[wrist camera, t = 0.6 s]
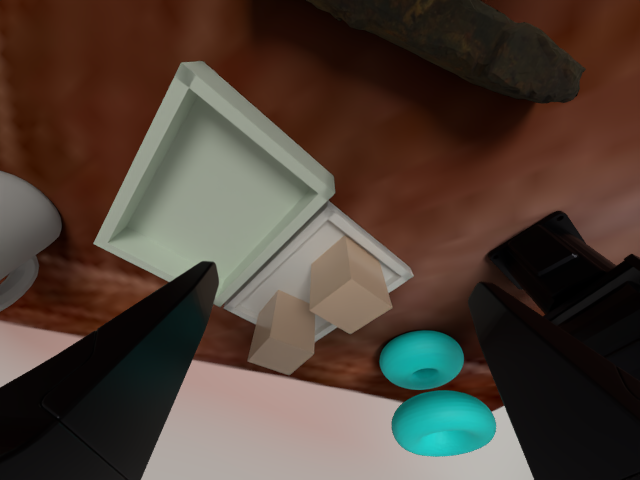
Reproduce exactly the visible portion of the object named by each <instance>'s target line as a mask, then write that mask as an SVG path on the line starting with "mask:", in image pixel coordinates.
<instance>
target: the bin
mask: <svg viewBox="0 0 640 480" xmlns="http://www.w3.org/2000/svg"><path fill="white" fill-rule="evenodd" d="M334 194H335V185H334V176H333V175H332V174H331V173H330V172H328V171H327V170H326V169H325V168H324V167H323V166H322V165H320V164H319V163H318V162H317V161H316V160H315V159H314V158H312V157H311V156H310V155H309V154H308V153H307V152H306V151H304V150H303V149H302V148H301V147H300V146H299V145H298V144H296V143H295V142H294V141H293V140H292V139H291V138H290V137H289V136H287V135H286V134H285V133H284V132H283V131H282V130H281V129H279V128H278V127H277V126H276V125H275V124H274V123H273V122H271V121H270V120H269V119H268V118H267V117H266V116H265V115H263V114H262V113H261V112H260V111H259V110H258V109H257V108H255V107H254V106H253V105H252V104H251V103H250V102H249V101H247V100H246V99H245V98H244V97H243V96H242V95H241V94H240V93H238V92H237V91H236V90H235V89H234V88H233V87H232V86H230V85H229V84H228V83H227V82H226V81H225V80H224V79H222V78H221V77H220V76H219V75H218V74H217V73H216V72H214V71H213V70H212V69H211V68H210V67H209V66H208V65H206V64H205V63H204V62H203V61H198V62H183V63H181V64H180V66H179V69H178V71H177V73H176V75H175V77H174V79H173V81H172V83H171V85H170V87H169V89H168V91H167V93H166V95H165V97H164V99H163V101H162V104H161V106H160V108H159V110H158V112H157V114H156V116H155V118H154V120H153V122H152V124H151V126H150V128H149V130H148V132H147V134H146V136H145V139H144V141H143V143H142V145H141V147H140V149H139V151H138V153H137V155H136V157H135V159H134V161H133V163H132V165H131V167H130V169H129V172H128V174H127V176H126V178H125V180H124V182H123V184H122V186H121V188H120V190H119V192H118V194H117V196H116V198H115V200H114V202H113V204H112V207H111V209H110V211H109V213H108V215H107V217H106V219H105V221H104V223H103V225H102V227H101V229H100V231H99V233H98V235H97V237H96V240H95V242H94V244H95V245H97V246H99V247H101V248H103V249H105V250H107V251H109V252H111V253H113V254H115V255H117V256H119V257H121V258H123V259H125V260H127V261H129V262H131V263H133V264H135V265H137V266H139V267H141V268H143V269H145V270H147V271H149V272H151V273H153V274H155V275H157V276H159V277H161V278H163V279H165V280H167V281H169V282H170V281H172V280H173V279H175V278H176V277H178V276H180V275H181V274H183V273H184V272H186V271H187V270H189V269H190V268H192V267H193V266H195V265H196V264H198V263H199V262H201V261H213V262H215V263H216V266H217V272H218V277H219V286H218V290H217V293H216V296H215V300H214V303H213V304H215V305H217V306H219V307H221V306H222V305H223V304H224V303H225V302H226V301H227V300H228V299H229V298H230V297H231V296H232V295H233V294H234V293H235V292H236V291H237V290H238V289H239V288H240V287H241V286H242V285H243V284H244V283H245V282H246V281H247V280H248V279H249V278H250V277H251V276H252V275H253V274H254V273H255V272H256V271H257V270H258V269H259V268H260V267H261V266H262V265H263V264H264V263H265V262H266V261H267V260H268V259H269V258H270V257H271V256H272V255H273V254H274V253H275V252H276V251H277V250H278V249H279V248H280V247H281V246H282V245H283V244H284V243H285V242H286V241H287V240H288V239H289V238H290V237H291V236H292V235H293V234H294V233H295V232H296V231H297V230H298V229H299V228H300V227H301V226H303V225H304V224H305V223H306V222H307V221H308V220H309V219H310V218H311V217H312V216H313V215H314V214H315V213H316V212H317V211H318V210H319V209H320V208H321V207H322V206H323V205H324V204H325V203H326V202H327V201H328V200H329V199H330V198H331V197H332V196H333V195H334Z"/></svg>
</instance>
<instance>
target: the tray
mask: <svg viewBox="0 0 640 480" xmlns="http://www.w3.org/2000/svg"><path fill="white" fill-rule="evenodd" d="M344 235H346V236H348V237H349V238H350V239H352V240H353V241H354V242H355V243H357V244H358V245H359V246H361V247H362V248H363V249H364V250H366V251H367V252H368V253H370V254H371V255H372V256H373V257H375V258H376V259H377V260H379V261H380V265H381V269H382V272H383V276H384V279H385V283H386V286H387V290H388V293H389V292H391V291H392V290H394V289H395V288H397V287H398V286H400V285H401V284H403V283H404V282H406V281H407V280H409V279H410V278H412V277H413V276H414V275H413V273H412V271H411V268H410V267H409V266H408V265H406V264H405V263H404V262H403V261H402V260H400V259H399V258H398V257H397V256H395V255H394V254H393V253H392V252H391V251H389V250H388V249H387V248H386V247H384V246H383V245H382V244H381V243H380V242H378V241H377V240H376V239H375V238H373V237H372V236H371V235H370V234H369V233H367V232H366V231H365V230H364V229H363V228H361V227H360V226H359V225H358V224H356V223H355V222H354V221H353V220H352V219H350V218H349V217H348V216H347V215H345V214H344V213H343V212H342V211H341V210H339V209H338V208H337V207H336V206H334V205H333V204H332V203H331V202H330V201H327V202H326V203H325V204H324V205H323V206H322V207H321V208H320V209H319V210H318V211H317V212H316V213H315V214H314V215H313V216H312V217H311V218H310V219H309V220H308V221H307V222H306V223H305V224H304V225H303V226H301V227H300V228H299V229H298V230H297V231H296V232H295V233H294V234H293V235H292V236H291V237H290V238H289V239H288V240H287V241H286V242H285V243H284V244H283V245H282V246H281V247H280V248H279V249H278V250H277V251H276V252H275V253H274V254H273V255H272V256H271V257H270V258H269V259H268V260H267V261H266V262H265V263H264V264H263V265H262V266H261V267H260V268H259V269H258V270H257V271H256V272H255V273H254V274H253V275H252V276H251V277H250V278H249V279H248V280H247V281H246V282H245V283H244V284H243V285H242V286H241V287H240V288H239V289H238V290H237V291H236V292H235V293H234V294H233V295H232V296H231V297H230V298H229V299H228V300H227V301H226V303H225V306H224V309H226V310H228V311H230V312H232V313H234V314H236V315H238V316H240V317H242V318H244V319H246V320H248V321H250V322H252V323H254V324H256V323H257V319H258V314H259V313H260V311H261V310H262V309H263V308H264V306H265V305H266V304H267V303H268V302H269V300H270V299H271V298H272V297H273V295H274V294H275V293H276V292H277V290H280V291H283V292H285V293H287V294H289V295H292V296H294V297H296V298H298V299H301V300H303V301H305V302H307V303H310V284H311V264H312V263H313V262H314V261H315V260H317V259H318V258H319V257H320V256H321V255H322V254H324V253H325V252H326V251H327V250H328V249H329V248H330V247H332V246H333V245H334V244H335V243H336V242H337V241H338V240H340V239H341V238H342V237H343V236H344ZM335 328H337V326H335V325H333V324H332V323H330V322H328V321H326V320H325V319H323V318H321V317H319V316H318V315H316V314H315V342H316V341H317V340H319V339H320V338H322V337H323V336H325V335H326V334H328V333H329V332H331V331H332V330H334V329H335Z"/></svg>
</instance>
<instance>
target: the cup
mask: <svg viewBox="0 0 640 480" xmlns="http://www.w3.org/2000/svg"><path fill="white" fill-rule="evenodd" d="M61 228H62V223H61V217H60V215H59V213H58V211H57V209H56V207H55V206H54V205H53V203H52V202H51V201H50V200H49V199H48V198H47V197H46V196H45V195H44V194H43V193H42V192H41V191H40V190H38V189H37V188H35V187H34V186H33V185H31V184H30V183H28V182H26V181H24V180H23V179H21V178H19V177H17V176H15V175H12V174H9V173H6V172H3V171H0V280H1V279H2V278H4V277H5V276H7V275H8V274H9V273H10V274H9V275H8V277H7V278H6V280H5V281H3V282H2V283H1V284H0V311H2V310H3V309H5V308H7V307H8V306H10V305H12V304H13V303H14V302H15V301H17V300H18V299H19V298H20V297H21V296H23V295H24V293H25V292H26V291H27V290H28V289H29V288H30V287H31V286H32V284H33V282H34V281H35V279H36V277H37V275H38V269H39V264H38V260H37V257H36V256H35V255H36V254H38V253H39V252H40V251H42V250H43V249H45V248H46V247H48V246H49V245H50V244H51V243H52V242H54V241H55V240H56V239H57V238H58V237H59V235H60V232H61Z"/></svg>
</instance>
